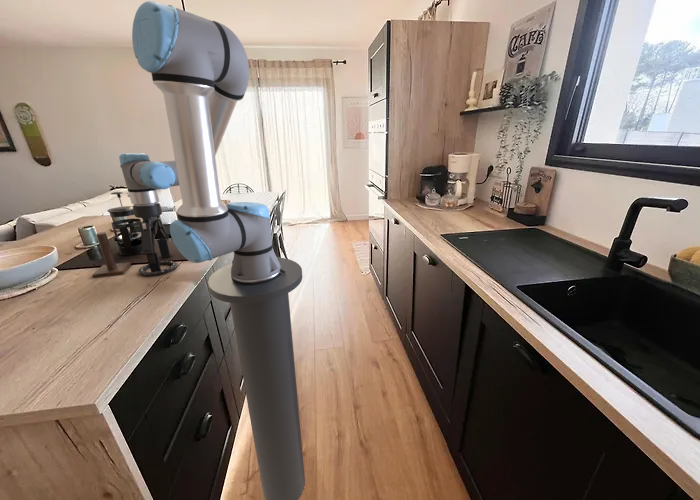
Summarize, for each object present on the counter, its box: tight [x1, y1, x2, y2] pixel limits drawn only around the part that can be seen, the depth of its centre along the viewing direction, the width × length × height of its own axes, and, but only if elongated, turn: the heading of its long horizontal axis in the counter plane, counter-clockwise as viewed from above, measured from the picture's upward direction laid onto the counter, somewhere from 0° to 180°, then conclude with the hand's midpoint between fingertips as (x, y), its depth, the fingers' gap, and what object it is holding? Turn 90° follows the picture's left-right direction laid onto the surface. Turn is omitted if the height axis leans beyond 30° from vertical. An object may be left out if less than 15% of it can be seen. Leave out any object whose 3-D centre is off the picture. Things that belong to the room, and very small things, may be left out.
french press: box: [106, 191, 143, 257], centre depth 107 cm, size 12×9×23 cm
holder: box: [91, 231, 132, 278], centre depth 93 cm, size 8×8×13 cm
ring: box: [138, 260, 177, 277], centre depth 96 cm, size 10×10×1 cm
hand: (161, 263), depth 100 cm, fingers open, 13 cm apart
